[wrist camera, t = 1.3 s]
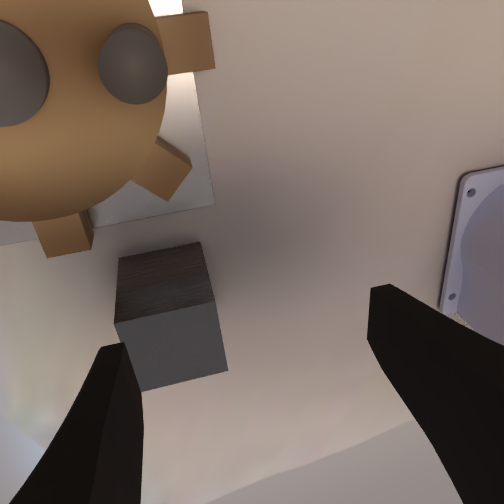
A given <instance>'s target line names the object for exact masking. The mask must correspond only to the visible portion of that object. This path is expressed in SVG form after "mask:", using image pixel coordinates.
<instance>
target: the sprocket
mask: <svg viewBox="0 0 504 504" xmlns="http://www.w3.org/2000/svg"><path fill="white" fill-rule="evenodd" d="M208 69H215V62H214V55H213V48H212V40H211V33H210V26H209V19H208V12H205V11H197V12H190V13H182V14H174V15H167V16H159V17H155V16H154V14H153V11H152V9H151V6H150V3H149V1H148V0H0V221H11V222H32V224H33V226H34V229H35V231H36V233H37V236H38V238H39V240H40V243H41V245H42V247H43V250H44V252H45V254H46V257H47V258H50V257H55V256H60V255H65V254H71V253H76V252H81V251H86V250H91V248H92V242H93V237H94V232H93V229H92V227H91V224H90V221H89V218H88V215H87V212H86V209H89V208H91V207H93V206H95V205H97V204H99V203H100V202H102V201H104V200H106V199H107V198H109V197H110V196H111V195H113V194H114V193H116V192H117V191H118V190H120V189H121V188H122V187H123V186H124V185H125V184H126V183H127V182H128V181H129V180H131V181H133V182H135V183H136V184H138V185H140V186H141V187H143V188H145V189H146V190H148V191H150V192H151V193H153V194H155V195H156V196H158V197H160V198H162V199H163V200H165V201H167V202H168V201H169V200H170V198H171V197H172V196H173V194H174V193H175V191H176V190H177V189H178V187H179V186H180V185H181V183H182V182H183V180H184V179H185V178H186V176H187V175H188V174H189V172H190V171H191V169H192V168H193V167H192V164H191V161H190V158H189V156H187V155H186V154H184V153H183V152H181V151H180V150H178V149H177V148H175V147H174V146H172V145H171V144H169V143H168V142H166V141H165V140H163V139H162V138H160V137H159V136H158V133H159V131H160V127H161V124H162V120H163V116H164V112H165V103H166V95H167V77H168V75H175V74H181V73H188V72H195V71H201V70H208Z"/></svg>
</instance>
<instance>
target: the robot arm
mask: <svg viewBox="0 0 504 504" xmlns="http://www.w3.org/2000/svg"><path fill="white" fill-rule="evenodd" d="M470 189H471V191H470V192H469V193H468V194H467V192H468V191H469V190H470ZM450 294H451V295H450ZM439 308H440V311H441V312H442V313H443V314H445V315H449V314H453V313H458V314H459V315H460V316H461V317H462V318H463V319H464V320H465V321H466V322H467V323H468V324H469V325H470V326H471V327H472V328H473V329H474V330H475V331H476V332H475V331H473V330H471V329H469V328H467V327H465V326H463V325H461V324H459V323H458V322H456V321H454V320H452V319H450V318H449V317H447V316H445V315H443V314H441V313H440V312H438V311H436V310H434V309H433V308H431V307H429V306H428V305H426V304H424V303H423V302H421V301H419V300H417V299H416V298H414V297H412V296H411V295H409V294H407V293H406V292H404V291H402V290H400V289H399V288H397V287H395V286H393V285H391V284H386V285H382V286H377V287H373V288H371V291H370V305H369V318H368V332H367V340H368V342H369V344H370V346H371V348H372V351H373V353H374V355H375V357H376V359H377V361H378V362H379V364H380V366H381V368H382V370H383V371H384V373H385V374H386V376H387V378H388V379H389V381H390V382H391V384H392V385H393V387H394V388H395V390H396V391H397V393H398V394H399V395H400V397H401V398H402V400H403V401H404V403H405V404H406V406H407V407H408V409H409V410H410V412H411V413H412V415H413V416H414V418H415V419H416V421H417V422H418V424H419V425H420V427H421V428H422V429H423V431H424V432H425V434H426V436H427V437H428V439H429V440H430V442H431V444H432V445H433V447H434V449H435V451H436V453H437V454H438V456H439V458H440V460H441V462H442V464H443V465H444V467H445V469H446V471H447V473H448V475H449V476H450V478H451V480H452V482H453V484H454V486H455V488H456V490H457V492H458V494H459V496H460V498H461V500H462V502H463V504H504V166H503V167H498V168H493V169H488V170H482V171H477V172H472V173H469V174H467V175H465V176H464V177H463V179H462V180H461V183H460V188H459V194H458V200H457V206H456V212H455V218H454V224H453V230H452V236H451V242H450V248H449V254H448V260H447V265H446V271H445V277H444V283H443V289H442V295H441V301H440V307H439ZM143 436H144V423H143V408H142V395H141V390H140V387H139V384H138V381H137V378H136V375H135V372H134V369H133V366H132V363H131V360H130V357H129V354H128V351H127V348H126V345H125V342H121V343H117V344H112V345H108V346H103V347H101V348H100V349H99V351H98V353H97V355H96V358H95V360H94V362H93V364H92V367H91V369H90V371H89V373H88V375H87V377H86V379H85V381H84V383H83V386H82V388H81V390H80V392H79V393H78V395H77V397H76V399H75V401H74V403H73V405H72V407H71V409H70V411H69V412H68V414H67V416H66V418H65V420H64V421H63V423H62V425H61V426H60V428H59V430H58V432H57V433H56V435H55V437H54V438H53V440H52V442H51V443H50V445H49V447H48V448H47V450H46V451H45V453H44V455H43V456H42V458H41V459H40V461H39V462H38V464H37V465H36V467H35V468H34V470H33V471H32V473H31V474H30V476H29V477H28V478H27V480H26V481H25V483H24V484H23V486H22V487H21V488H20V490H19V491H18V492H17V494H16V495H15V496H14V498H13V499H12V500H11V502H10V503H9V504H140V503H141V481H142V460H143Z"/></svg>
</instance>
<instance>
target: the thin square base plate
mask: <svg viewBox="0 0 504 504" xmlns="http://www.w3.org/2000/svg"><path fill="white" fill-rule="evenodd" d="M148 1H149V3H150V6H151V9H152V11H153V14H154V16H155V17H159V16H167V15H174V14H182V13H183V9H182V3H181V0H148ZM158 136H159V137H160V138H162V139H163V140H165V141H166V142H168V143H169V144H171V145H172V146H174V147H175V148H177V149H178V150H180V151H181V152H183V153H184V154H186V155H187V156H189V158H190V161H191V164H192V167H193V168H192V169H191V171H190V172H189V174H188V175H187V176H186V178H185V179H184V180H183V182H182V183H181V185H180V186H179V187H178V189H177V190H176V191H175V193H174V194H173V196H172V197H171V198H170V200H169V201H168V202H167V201H165V200H163V199H162V198H160V197H158V196H156V195H155V194H153V193H151V192H150V191H148V190H146V189H145V188H143V187H141V186H140V185H138V184H136V183H135V182H133V181H131V180H129V181H128V182H127V183H126V184H125V185H124V186H123V187H122V188H121V189H120V190H118V191H117V192H116V193H114V194H113V195H111V196H110V197H109V198H107V199H106V200H104V201H102V202H100V203H99V204H97V205H95V206H93V207H91V208H89V209H86V212H87V215H88V218H89V221H90V224H91V227H92V228H96V227H101V226H106V225H112V224H117V223H122V222H127V221H132V220H138V219H143V218H148V217H153V216H158V215H164V214H169V213H174V212H179V211H184V210H190V209H195V208H200V207H205V206H210V205H215V202H214V196H213V190H212V184H211V178H210V172H209V166H208V160H207V154H206V148H205V142H204V136H203V130H202V124H201V117H200V111H199V105H198V99H197V93H196V87H195V81H194V75H193V72H188V73H181V74H175V75H168V77H167V95H166V103H165V112H164V116H163V120H162V124H161V127H160V131H159V133H158ZM33 239H39V238H38V236H37V233H36V231H35V229H34V226H33V224H32V222H11V221H0V246H2V245H7V244H13V243H18V242H23V241H28V240H33Z"/></svg>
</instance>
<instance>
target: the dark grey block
mask: <svg viewBox="0 0 504 504" xmlns="http://www.w3.org/2000/svg"><path fill="white" fill-rule="evenodd" d="M114 325H115V328H116V331H117V334H118V336H119V339H120V342H125V345H126V348H127V351H128V354H129V357H130V360H131V363H132V366H133V369H134V372H135V375H136V378H137V381H138V384H139V387H140V390H141V392H143V391H147V390H152V389H156V388H160V387H164V386H168V385H172V384H176V383H180V382H184V381H188V380H192V379H196V378H200V377H204V376H208V375H212V374H216V373H221V372H225V371H228V367H227V361H226V356H225V351H224V346H223V340H222V335H221V330H220V324H219V319H218V314H217V309H216V303H215V299H214V295H213V291H212V287H211V283H210V279H209V275H208V271H207V267H206V263H205V259H204V255H203V251H202V247H201V243H200V242H196V243H191V244H187V245H182V246H177V247H172V248H167V249H162V250H157V251H152V252H147V253H142V254H137V255H132V256H127V257H122V258H119V262H118V275H117V289H116V303H115V316H114Z"/></svg>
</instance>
